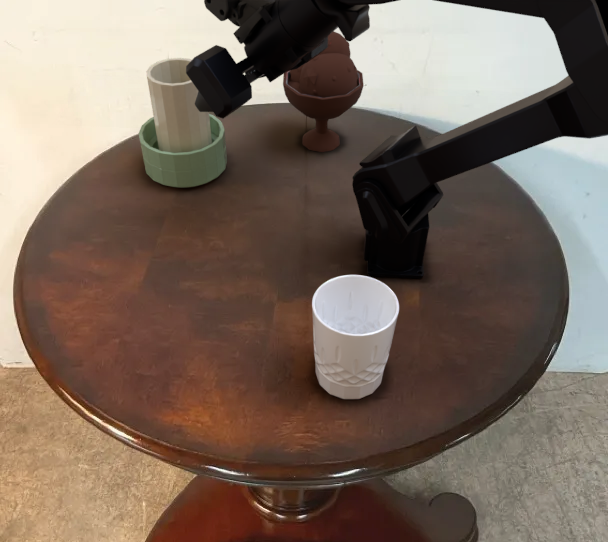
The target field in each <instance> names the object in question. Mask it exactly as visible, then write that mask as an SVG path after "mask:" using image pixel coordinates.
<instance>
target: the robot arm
mask: <svg viewBox="0 0 608 542" xmlns="http://www.w3.org/2000/svg"><path fill="white" fill-rule="evenodd" d="M398 1H400V0H203V3H204V6H205V9H206V10H208V11H209V12H210V13H211V14H212V15H213V16H214V17H215V18H217V20H219V21H220V22H225V21H226V20H228V21H230V23H232V24H233V25H234V26H236V27H238V28H237V29H236V30H235V31H234V32H233V35H234V37H235V39H236V40H237V42H238V43H239V44H240V45H242V44H243V45H244V47H243V50H244V53H245V55H246V57H245V58H243V59H241V60H240V61H239V62H236V61H235V59H234V58H233V56H232V55H231V53H230V52H229V50H228V49H227V48H226V47H224V46H220V45H218V44H215V45H213V46H212V47H209V48H208V49H207V50H204V51H203V52H201V53H199V54H198V55H196V56H194V57H193V58H192V59H191V60H192V61H191V62H190V63H189V64H188V65H187V66H186V74H187V75H188V77H189V78H190V80H191V81H192V83H193V84H194V85H195V87H196V88H197V90H198V94H197V97H196V101H195V106H196V107H197V109H198V110H199V111H200V112H209V113H213V114H214V116H215V117H216V118H218V119H222V120H223V119H225V118H226V117H228V116H229V115H231V114H232V113H234V112H235V111H237V110H239V109H240V108H241V107H242V106H244V105H245V104H247V103H248V102H249V101H250V100H251V99H253V88H252V84H253V82H255V81H257V80H259V79H262V78H266V79H267V80H268V82H269V83H272V82H273V81H275V80H276V79H279V77H281V76H282V75H284V73H285V72H287V71H290V70H294V69H298V68H299V67H301V66H302V65H304V64H305V63H307V62H309V61H310V60H312V59H313V58H315V57H316V56H318V55H319V54H320V53H321V52H323V51H324V50H325V49H326V48H327V47H328V36H329V35H330V34H331V33H332V32H333V31H334V32H335V31H336V30H337V29H339V31H340V34H341V35H342V36H343V37H344V38H345V39H346V41H347V42H352V41H353V40H355V39H356V38H357V37H359V36H361V35H362V34H364V33H365V32H366V31H368V30H369V29H370V27H371V23H370V21H371V20H370V19H371V18H370V16H369V15H370V14H369V12H370V11H369V10H370V8H371V7H370V5H383V4H389V3H393V2H398ZM433 1H434V2H441V3H447V4H453V5H460V6H466V7H473V8H476V9H477V8H479V9H485V10H490V11H497V12H503V13H509V14H516V15H522V16H528V17H534V18H541V19H544V21H545V22H546V24H547V25H548V27H549V28H550V30H551V31H552V33H553V34H554V35H553V36H554V38H555V41H556V44H557V46H558V50H559V53H560V56H561V60H562V62H563V65H564V68H565V72H566V73H567V76H565V77H564V78H562V80H560V81H559V82H557V83H556V84H553V85H551V86H549V87H547V88H544V89H542V90H539V91H537V92H535V93H533V94H530V95H529V96H526V97H524V98H521V99H520V100H517V101H514V102H513V103H510V104H508V105H506V106H502V107H501V108H499V109H496V110H494V111H491V112H490V113H487V114H485V115H483V116H480V117H478V118H476V119H474V120H471V121H469V122H466V123H465V124H462V125H460V126H458V127H455V128H453V129H451V130H449V131H446V132H444V133H442V134H439V135H437V136H433V137H425V136H421V135H420V132H419V129H418V126H417V125H416V124H415V125H413V126H412V127H410V128H409V129H407V130H406V131H405V132H403V133H401V134H398V135H395V134H393V135H390V136H388V137H387V138H386V139H385V140H384V141H383V142H382V143H381V144H379V145H378V146H377V147H375V148H374V150H372V151H371V152H370V153H369V154H368V155H367V156H365V157H364V158H363V159H362V160H361V161H360V162H359V166H360V168H359V169H358V170H357V171H356V172H354V174H353V176H352V185H351V186H352V191H353V195H354V196H355V199H356V204H357V207H358V211H359V215H360V218H361V223H362V226H363V229H364V242H363V260H364V262H367V263H366V266H367V267H366V268H367V269H366V271H367V272H366V274H367V275H368V276H369V277H371V276H372V277H388V278H389V277H390V278H405V279H406V278H407V279H409V278H410V279H422V278H424V277H425V266H424V265H425V264H424V259H425V254H426V248H427V242H428V236H429V232H430V219H429V213H430V212H431V211H432V210H433V209H435V208H436V207H437V206H438V204H439V203H440V201H441V200H442V198H443V197H444V192H443V190H442V189H441V186H440V185H439V184H438V183H439V182H442V181H445V180H447V179H451V178H453V177H455V176H458V175H461V174H463V173H466V172H470V171H472V170H474V169H477V168H479V167H483V166H486V165H487V164H488V165H489V164H490V163H493V162H496V161H499V160H502V159H504V158H507V157H510V156H512V155H515V154H518V153H520V152H524V151H525V150H528V149H532V148H534V147H536V146H539V145H542V144H545V143H547V142H550V141H553V140H555V139H559V138H564V137H566V138H577V139H578V138H579V139H596V138H600V137H607V136H608V0H433Z"/></svg>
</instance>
